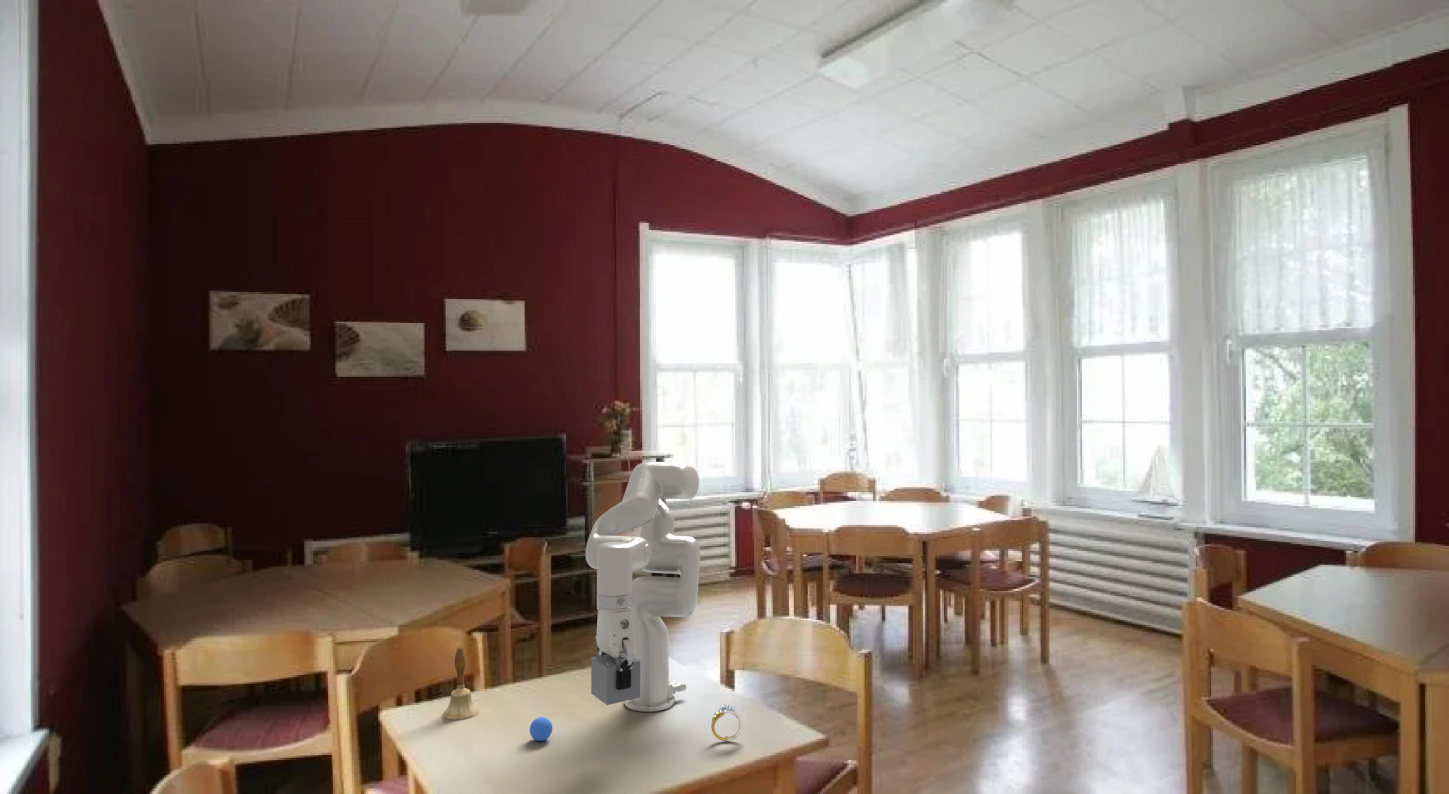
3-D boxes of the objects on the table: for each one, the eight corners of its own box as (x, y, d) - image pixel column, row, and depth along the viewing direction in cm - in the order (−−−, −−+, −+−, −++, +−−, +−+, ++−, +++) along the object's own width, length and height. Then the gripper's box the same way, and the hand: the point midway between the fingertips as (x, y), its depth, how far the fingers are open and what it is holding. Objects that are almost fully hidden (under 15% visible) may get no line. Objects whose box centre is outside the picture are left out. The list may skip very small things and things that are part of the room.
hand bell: (468, 721, 203) (468, 654, 203) (436, 718, 205) (436, 652, 204) (484, 708, 211) (484, 644, 211) (453, 706, 213) (453, 642, 213)
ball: (547, 734, 195) (547, 712, 195) (555, 741, 191) (555, 719, 191) (526, 738, 193) (526, 716, 193) (534, 746, 188) (534, 723, 188)
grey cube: (624, 686, 189) (623, 651, 189) (640, 697, 182) (640, 661, 182) (591, 693, 185) (591, 657, 184) (607, 705, 178) (606, 668, 178)
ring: (742, 738, 193) (742, 703, 193) (742, 744, 190) (742, 708, 190) (711, 739, 193) (711, 703, 193) (711, 744, 190) (711, 708, 190)
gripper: (649, 607, 178) (649, 691, 178) (612, 590, 192) (612, 668, 193) (616, 612, 174) (616, 698, 174) (581, 595, 188) (581, 674, 188)
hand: (614, 682), depth 183 cm, fingers closed on grey cube, 8 cm apart
